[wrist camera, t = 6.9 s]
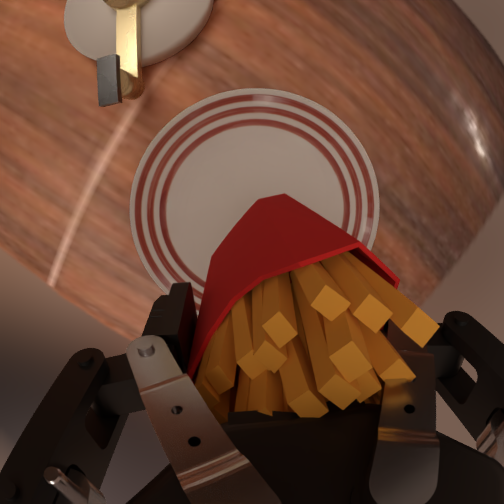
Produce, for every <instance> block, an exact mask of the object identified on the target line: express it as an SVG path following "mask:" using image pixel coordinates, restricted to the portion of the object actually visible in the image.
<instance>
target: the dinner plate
mask: <svg viewBox="0 0 504 504" xmlns="http://www.w3.org/2000/svg"><path fill="white" fill-rule="evenodd" d="M284 193H285V194H287V195H289V196H290V197H292V198H293V199H295V200H297V201H298V202H300V203H302V204H303V205H305V206H306V207H308V208H310V209H311V210H313V211H314V212H316V213H318V214H319V215H321V216H322V217H324V218H325V219H327V220H328V221H330V222H332V223H333V224H335V225H336V226H338V227H339V228H341V229H342V230H344V231H345V232H347V233H348V234H350V235H351V236H353V237H354V238H356V239H357V240H359V241H360V242H361V243H362V244H364V245H365V246H366V247H367V248H368V249H369V250H370V251H371V248H372V246H373V243H374V240H375V236H376V232H377V227H378V221H379V208H380V206H379V191H378V185H377V180H376V176H375V172H374V169H373V166H372V164H371V162H370V159H369V157H368V155H367V153H366V151H365V149H364V147H363V146H362V144H361V143H360V141H359V140H358V138H357V137H356V136H355V134H354V133H353V132H352V131H351V130H350V128H349V127H348V126H347V125H346V124H345V123H344V122H343V121H342V120H340V119H339V118H338V117H337V116H336V115H335V114H333V113H332V112H331V111H329V110H328V109H326V108H325V107H323V106H321V105H320V104H318V103H316V102H314V101H312V100H310V99H307V98H305V97H302V96H299V95H297V94H293V93H290V92H286V91H281V90H276V89H266V88H246V89H238V90H232V91H227V92H223V93H219V94H216V95H213V96H210V97H208V98H205V99H203V100H201V101H199V102H197V103H195V104H193V105H192V106H190V107H188V108H186V109H185V110H183V111H182V112H181V113H179V114H178V115H177V116H175V117H174V118H173V119H172V120H171V121H170V122H169V123H167V124H166V125H165V126H164V127H163V128H162V130H161V131H160V132H159V133H158V134H157V135H156V137H155V138H154V139H153V140H152V142H151V143H150V145H149V146H148V148H147V149H146V151H145V153H144V155H143V157H142V159H141V161H140V163H139V166H138V168H137V171H136V174H135V176H134V180H133V184H132V190H131V196H130V224H131V231H132V236H133V240H134V244H135V247H136V250H137V252H138V254H139V257H140V259H141V261H142V263H143V265H144V267H145V268H146V270H147V272H148V273H149V275H150V276H151V277H152V279H153V280H154V281H155V283H156V284H157V285H158V286H159V287H160V288H161V289H162V290H163V291H164V292H165V293H166V294H167V295H169V292H170V289H171V286H172V284H173V283H180V282H191V285H192V290H193V295H194V301H195V306H196V312H197V315H198V314H199V310H200V305H201V300H202V296H203V291H204V287H205V282H206V278H207V273H208V269H209V265H210V260H211V256H212V255H213V253H214V252H215V250H216V249H217V248H218V246H219V245H220V244H221V242H222V241H223V240H224V238H225V237H226V236H227V234H228V233H229V232H230V231H231V229H232V228H233V227H234V226H235V224H236V223H237V222H238V221H239V220H240V219H241V217H242V216H243V215H244V214H245V213H246V212H247V211H248V209H249V208H250V207H251V206H252V205H253V204H254V203H255V202H256V201H257V200H258V199H260V198H265V197H270V196H274V195H279V194H284Z"/></svg>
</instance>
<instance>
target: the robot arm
mask: <svg viewBox="0 0 504 504" xmlns="http://www.w3.org/2000/svg"><path fill="white" fill-rule="evenodd" d="M196 324H197V312H196V306H195V301H194V295H193V290H192V285H191V282H180V283H173V284H172V286H171V289H170V292H169V295H161V296H160V297H159V298H158V299H157V300H156V301H155V302H154V304H153V306H152V309H151V312H150V314H149V318H148V320H147V323H146V325H145V328H144V331H143V334H142V336H141V337H139V338H137V339H135V340H133V341H132V342H131V343H130V344H129V345H128V346H127V349H126V353H125V354H122V355H118V356H113V357H109V358H105V356H104V354H103V352H101V351H100V350H99V349H95V348H87V349H83V350H80V351H78V352H77V353H75V354H74V355H73V356H72V357H71V358H70V359H69V361H68V363H67V364H66V365H65V367H64V368H63V370H62V371H61V373H60V374H59V376H58V377H57V379H56V380H55V382H54V383H53V385H52V386H51V388H50V389H49V391H48V393H47V394H46V396H45V397H44V399H43V400H42V402H41V403H40V405H39V406H38V408H37V410H36V411H35V413H34V414H33V416H32V418H31V419H30V421H29V423H28V424H27V426H26V428H25V429H24V431H23V433H22V434H21V436H20V438H19V439H18V441H17V443H16V445H15V447H14V448H13V450H12V452H11V454H10V455H9V457H8V459H7V461H6V463H5V465H4V466H3V468H2V470H1V472H0V504H106V499H105V497H104V495H103V493H102V492H101V491H100V487H101V484H102V482H103V479H104V476H105V474H106V471H107V468H108V466H109V463H110V460H111V458H112V455H113V453H114V450H115V448H116V445H117V442H118V440H119V437H120V435H121V432H122V430H123V427H124V425H125V422H126V420H127V417H128V415H129V413H132V412H136V411H141V410H145V409H146V410H147V413H148V415H149V418H150V420H151V423H152V425H153V427H154V429H155V432H156V434H157V436H158V438H159V441H160V443H161V445H162V447H163V449H164V451H165V453H166V455H167V458H168V460H169V462H170V463H169V464H168V465H167V466H166V467H165V468H164V469H163V470H162V471H161V472H160V473H159V474H158V475H157V476H156V477H155V478H154V479H153V480H152V481H150V482H149V483H148V484H147V485H146V486H145V487H144V488H143V489H142V490H140V491H139V492H138V493H137V494H136V495H135V496H134V497H133V498H132V499H131V500H129V501H128V502H127V503H126V504H504V344H503V343H501V341H499V340H498V339H497V338H496V337H495V336H494V335H493V334H492V333H490V332H489V331H488V330H487V329H486V328H485V327H484V326H482V325H481V324H480V323H479V322H478V321H477V320H475V319H474V318H473V317H472V316H470V315H469V314H467V313H464V312H460V311H452V312H449V313H447V314H446V315H445V317H444V320H443V323H437V324H438V325H439V326H440V327H439V328H438V329H437V331H436V332H435V333H434V334H433V336H432V337H431V338H430V339H429V341H428V342H427V343H426V344H425V346H424V347H423V348H422V347H421V346H419V345H418V344H417V343H416V342H415V341H414V340H412V339H411V338H410V337H409V336H408V335H406V334H405V333H404V332H403V331H402V330H401V329H400V328H399V327H398V326H397V325H396V324H395V323H394V322H393V321H392V320H391V319H390V318H389V319H388V320H387V321H386V323H385V325H384V328H383V329H382V330H381V332H382V333H383V335H384V336H385V337H386V338H387V340H388V341H389V342H390V343H391V345H392V346H393V347H394V349H395V350H396V351H397V352H398V354H399V355H400V356H401V358H402V359H403V360H404V361H405V363H406V364H407V365H408V367H409V368H410V369H411V371H412V372H413V373H414V374H415V376H416V377H415V378H414V379H413V380H412V381H411V382H408V381H407V380H406V378H399V379H385V382H384V381H383V382H382V390H381V397H380V396H379V395H378V394H377V399H378V400H379V401H380V403H379V404H371V403H365V402H364V401H362V402H361V403H360V402H359V401H358V400H357V399H355V400H354V401H353V402H352V403H351V404H350V405H348V406H347V407H346V408H345V409H344V410H342V409H341V408H339V407H338V406H337V405H335V404H334V403H333V402H331V401H328V402H326V404H327V407H328V410H329V412H327V413H326V414H324V415H323V416H321V417H320V418H317V417H301V418H300V417H299V415H298V414H297V413H296V412H281V411H272V416H270V415H267V414H264V413H260V412H258V410H253V411H241V412H228V422H225V423H222V424H219V423H218V421H217V420H216V418H215V417H214V415H213V414H212V412H211V411H210V409H209V408H208V406H207V405H206V403H205V402H204V400H203V398H202V397H201V395H200V394H199V392H198V391H197V389H196V387H195V386H194V384H193V382H192V381H191V379H190V378H189V376H188V375H187V368H188V363H189V358H190V353H191V348H192V343H193V338H194V333H195V329H196ZM464 358H465V359H466V360H467V361H468V362H469V363H470V364H471V365H472V366H473V367H474V368H475V369H476V371H477V375H478V379H477V382H476V383H475V382H474V380H472V378H471V377H470V376H469V375H468V374H467V373H466V372H465V371H464V370H463V369H462V367H461V365H462V363H463V360H464ZM436 391H437V392H438V393H439V394H440V396H441V397H442V398H443V399H444V401H445V402H446V403H447V405H448V406H449V407H450V408H451V410H452V411H453V412H454V413H455V415H456V416H457V417H458V418H459V420H460V421H461V422H462V424H463V425H464V426H465V428H466V429H467V430H468V432H469V433H470V434H471V436H472V437H473V438H474V440H475V441H476V448H477V450H475V449H473V448H471V447H469V446H467V445H464V444H463V443H460V442H458V441H456V440H454V439H452V438H450V437H448V436H446V435H444V434H442V433H440V432H438V431H436ZM89 408H90V409H89ZM88 410H89V411H88ZM87 412H88V413H87ZM86 414H87V415H86Z"/></svg>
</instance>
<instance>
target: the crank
mask: <svg viewBox="0 0 504 504" xmlns="http://www.w3.org/2000/svg"><path fill="white" fill-rule="evenodd" d="M103 1H104V2H105V3H106V4H107V5H108V6H109V7H111V8H112V9H113V10H114V11H116V12H117V15H116V54H112V55H108V56H105V57H101V58H97V81H98V100H99V106H100V107H105V106H110V105H114V104H118V103H122V98H123V99H128V100H135V99H137V98H139V97H140V96H141V95H142V94H143V92H144V89H145V84H144V81H143V80H142V62H141V8H142V7H143V6H145V5H146V4H147V3H148V2H149V1H150V0H103Z"/></svg>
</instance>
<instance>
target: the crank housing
mask: <svg viewBox="0 0 504 504" xmlns="http://www.w3.org/2000/svg"><path fill="white" fill-rule="evenodd" d="M213 3H214V0H150V1H149V2H148V3H147V4H146V5H145V6H143V7H142V8H141V62H142V67H145V66H149V65H153V64H156V63H158V62H161V61H163V60H165V59H167V58H170V57H171V56H173V55H175V54H176V53H178V52H180V51H181V50H182V49H184V48H185V47H186V46H187V45H189V44H190V43H191V42H192V41H193V40H194V39H195V38H196V37H197V36H198V34H199V33H200V32H201V31H202V29H203V28H204V26H205V25H206V23H207V21H208V19H209V17H210V14H211V11H212V8H213ZM116 15H117V12H116V11H114V10H113V9H112V8H111V7H109V6H108V5H107V4H106V3H105V2H104V1H103V0H67V4H66V7H65V13H64V26H65V31H66V34H67V37H68V39H69V41H70V42H71V44H72V45H73V46H74V48H75V49H76V50H78V51H79V52H80V53H81V54H83V55H85V56H87V57H88V58H91V59H93V60H96V61H97V58H101V57H105V56H108V55H112V54H116Z"/></svg>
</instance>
